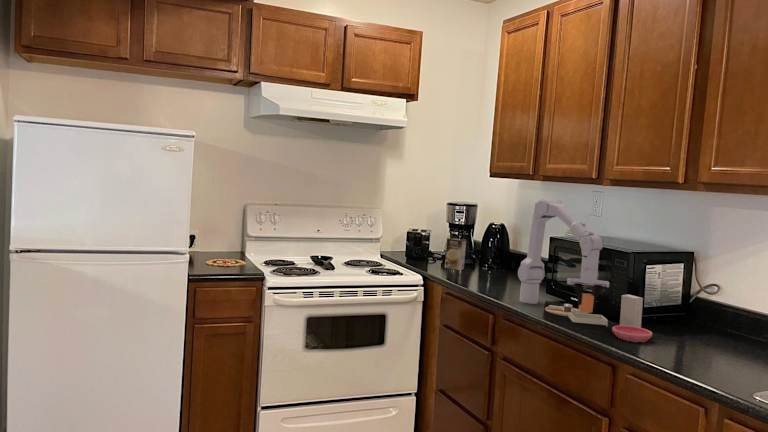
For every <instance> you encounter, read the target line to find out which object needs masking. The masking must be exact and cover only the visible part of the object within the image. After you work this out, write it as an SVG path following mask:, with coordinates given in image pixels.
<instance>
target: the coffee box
mask: <svg viewBox="0 0 768 432" xmlns="http://www.w3.org/2000/svg"><path fill="white" fill-rule="evenodd" d="M466 248H467V240H466V239H461V238H454V237H449V238H446V246H445V249H446V250H445V261H444V268H445V269H449V270H454V271H455V270H456V271H462V270H464V269H465V260H466V259H465V258H466Z"/></svg>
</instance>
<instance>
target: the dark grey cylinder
mask: <svg viewBox="0 0 768 432" xmlns="http://www.w3.org/2000/svg"><path fill="white" fill-rule="evenodd" d="M548 307H549V308H551V309H557V310H563V307H567V308H573V304H570V303H563V306H562V307H560V306H559V305H552V304H549V305H548ZM577 309H578V308H576V309H572V312H575V313H583V314H587V312H581V311H580V310H577Z"/></svg>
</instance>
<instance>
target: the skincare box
mask: <svg viewBox="0 0 768 432" xmlns="http://www.w3.org/2000/svg"><path fill="white" fill-rule="evenodd" d="M643 302H644V297H640V296H638V295H637V296H636V295H632V294H623V295H621V301H620V316H619V325H626V326H634V327H640V328H642V317H643V306H644V305H643Z"/></svg>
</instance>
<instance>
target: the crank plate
mask: <svg viewBox="0 0 768 432" xmlns="http://www.w3.org/2000/svg"><path fill="white" fill-rule="evenodd" d="M560 307H563V310H557V309H551V308H549V306H546V307H545V308H544V310H545V311H546V312H548V313H551V314H554V315H558V316H564V317H568V315H569V312H572V309H577V310H579V308H575V307H572V308H567V307H564V306H562V305H561V306H560ZM572 313H575V312H572ZM587 314H591V312H587Z"/></svg>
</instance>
